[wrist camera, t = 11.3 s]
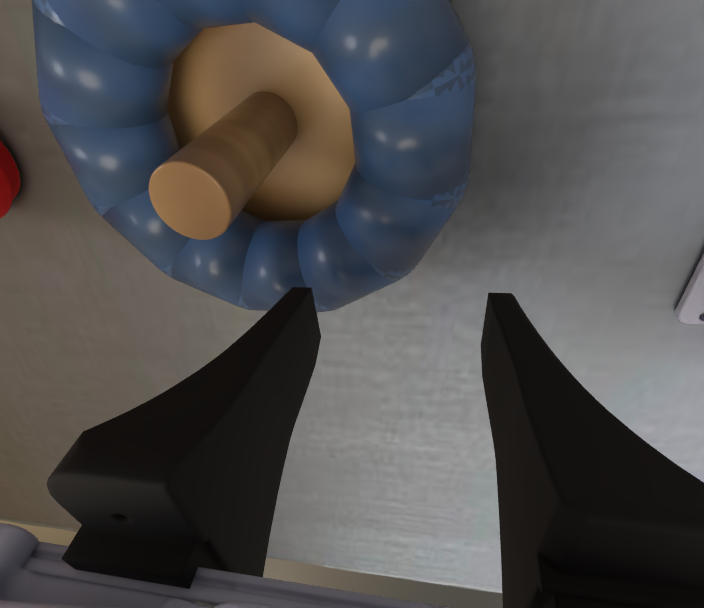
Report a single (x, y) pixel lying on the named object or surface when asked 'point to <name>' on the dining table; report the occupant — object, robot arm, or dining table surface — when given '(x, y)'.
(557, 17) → the dining table surface
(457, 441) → the dining table surface
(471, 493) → the dining table surface
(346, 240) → the ring
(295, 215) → the stand
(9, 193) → the beverage can
